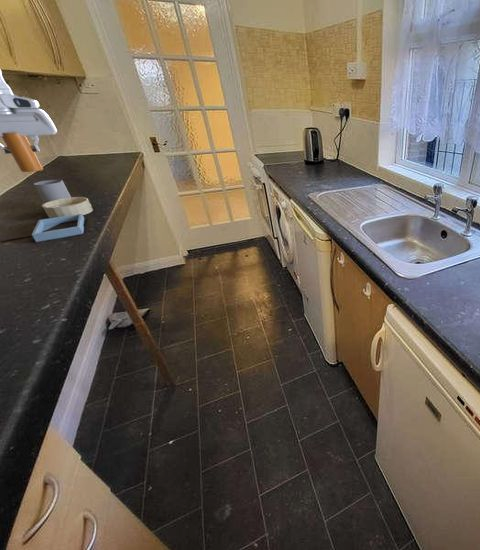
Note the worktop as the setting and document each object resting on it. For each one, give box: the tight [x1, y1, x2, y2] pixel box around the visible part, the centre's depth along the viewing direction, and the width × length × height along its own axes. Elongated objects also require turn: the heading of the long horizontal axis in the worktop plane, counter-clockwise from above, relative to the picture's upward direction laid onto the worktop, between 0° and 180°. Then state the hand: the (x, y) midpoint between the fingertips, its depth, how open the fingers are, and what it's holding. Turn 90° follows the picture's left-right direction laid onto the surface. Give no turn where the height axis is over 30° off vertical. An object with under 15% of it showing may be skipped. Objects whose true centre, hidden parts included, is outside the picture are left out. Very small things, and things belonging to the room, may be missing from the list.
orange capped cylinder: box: [1, 133, 44, 173], centre depth 90 cm, size 5×5×15 cm
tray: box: [31, 214, 85, 243], centre depth 102 cm, size 12×16×3 cm
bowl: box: [41, 196, 94, 219], centre depth 114 cm, size 13×13×5 cm
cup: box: [33, 179, 72, 204], centre depth 120 cm, size 8×8×10 cm
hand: (23, 152), depth 91 cm, fingers closed on orange capped cylinder, 5 cm apart
